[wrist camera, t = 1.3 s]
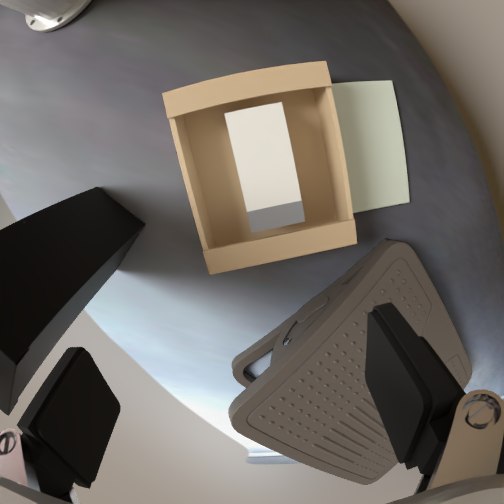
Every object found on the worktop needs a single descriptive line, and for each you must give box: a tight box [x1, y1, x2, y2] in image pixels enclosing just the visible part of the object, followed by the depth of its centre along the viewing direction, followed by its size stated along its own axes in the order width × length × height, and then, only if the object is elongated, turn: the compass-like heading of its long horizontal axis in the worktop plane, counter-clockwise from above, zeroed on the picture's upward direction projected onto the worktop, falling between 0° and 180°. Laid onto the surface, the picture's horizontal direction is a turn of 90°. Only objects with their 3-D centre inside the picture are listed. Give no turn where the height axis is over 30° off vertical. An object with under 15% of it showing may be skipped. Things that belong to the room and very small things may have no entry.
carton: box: [162, 61, 357, 275], centre depth 29 cm, size 18×15×6 cm
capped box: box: [225, 102, 305, 233], centre depth 28 cm, size 11×5×6 cm, turn 12°
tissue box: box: [0, 187, 145, 415], centre depth 20 cm, size 8×8×28 cm
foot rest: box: [228, 238, 472, 485], centre depth 38 cm, size 39×30×13 cm
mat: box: [331, 81, 409, 213], centre depth 30 cm, size 15×9×1 cm, turn 12°
